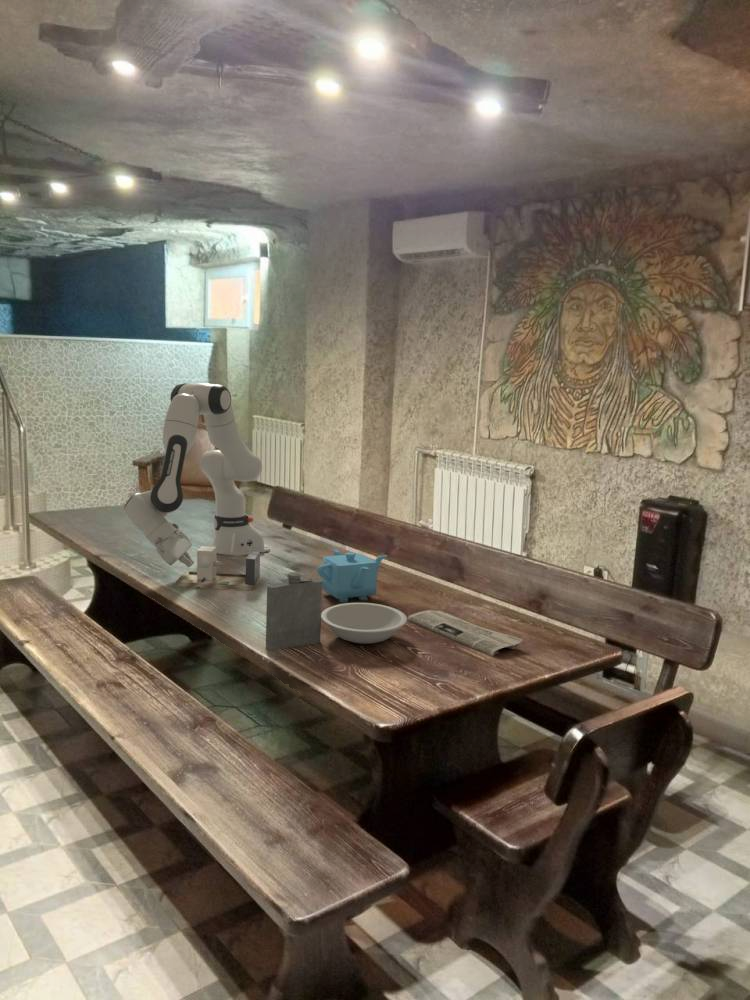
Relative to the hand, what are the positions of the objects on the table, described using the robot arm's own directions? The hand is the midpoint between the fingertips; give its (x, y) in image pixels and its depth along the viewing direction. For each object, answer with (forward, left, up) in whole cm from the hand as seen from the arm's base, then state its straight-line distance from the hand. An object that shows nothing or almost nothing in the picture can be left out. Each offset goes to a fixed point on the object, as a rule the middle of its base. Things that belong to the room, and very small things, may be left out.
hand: (191, 565), depth 261 cm
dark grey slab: (-18, +10, -4) cm, 21 cm away
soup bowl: (-30, +68, -6) cm, 74 cm away
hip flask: (-10, +65, -6) cm, 66 cm away
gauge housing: (-5, +4, -4) cm, 7 cm away
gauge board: (-8, +5, -6) cm, 11 cm away
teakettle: (-44, +33, -6) cm, 55 cm away
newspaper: (-59, +75, -7) cm, 96 cm away
